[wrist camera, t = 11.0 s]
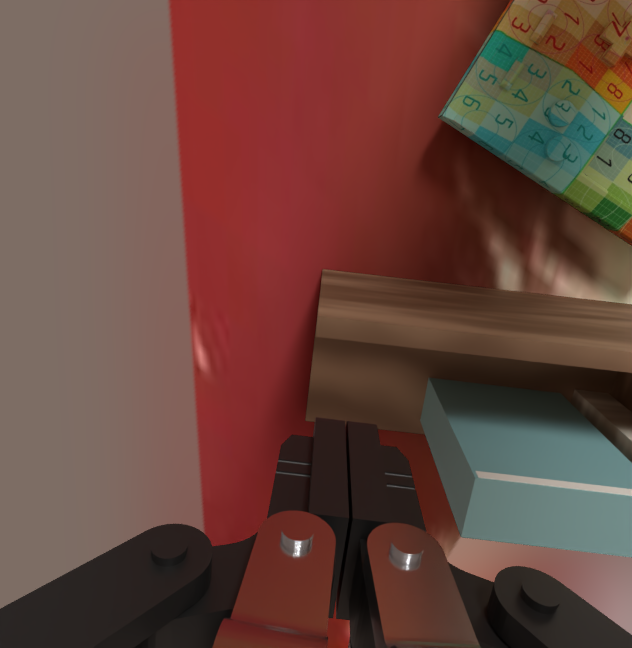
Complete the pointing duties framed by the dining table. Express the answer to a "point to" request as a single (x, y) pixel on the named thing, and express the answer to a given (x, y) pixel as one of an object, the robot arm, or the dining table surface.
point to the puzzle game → (557, 102)
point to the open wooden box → (464, 350)
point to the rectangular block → (527, 468)
